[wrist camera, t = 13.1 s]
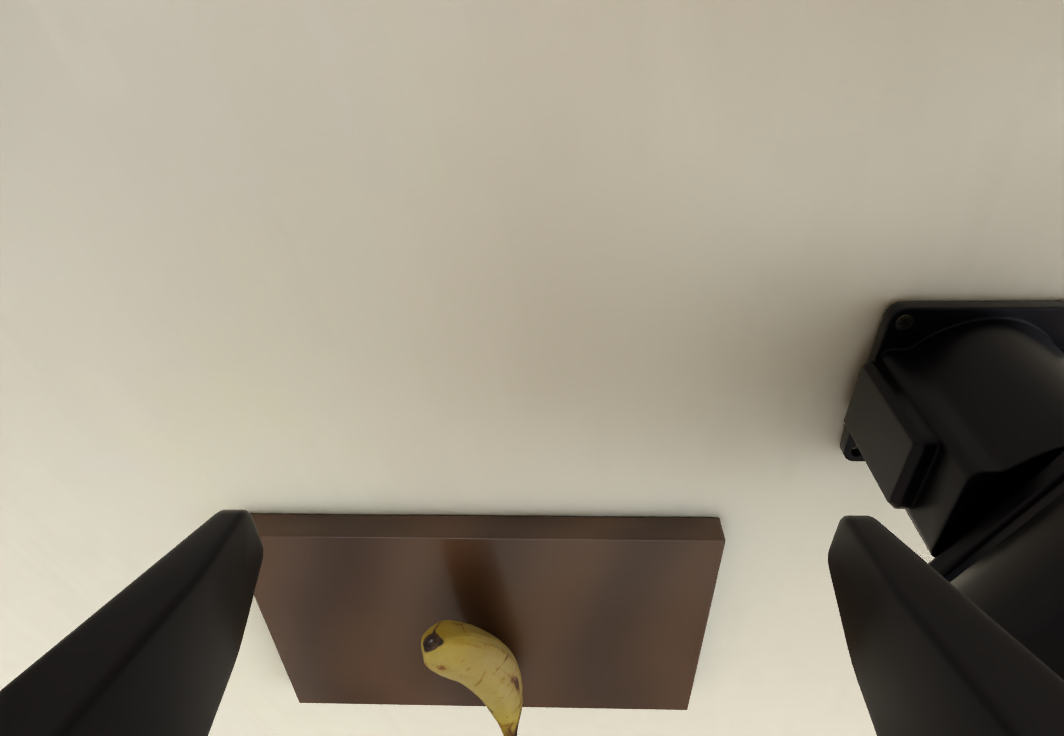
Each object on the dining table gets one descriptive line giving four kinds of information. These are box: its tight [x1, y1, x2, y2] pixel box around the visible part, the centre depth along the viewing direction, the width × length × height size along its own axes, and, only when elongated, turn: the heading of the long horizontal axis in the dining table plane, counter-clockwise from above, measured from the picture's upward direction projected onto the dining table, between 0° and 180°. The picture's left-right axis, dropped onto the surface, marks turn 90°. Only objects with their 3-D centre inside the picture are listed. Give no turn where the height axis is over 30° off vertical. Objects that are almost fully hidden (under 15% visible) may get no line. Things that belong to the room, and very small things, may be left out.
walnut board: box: [251, 514, 725, 710], centre depth 31 cm, size 20×13×1 cm, turn 91°
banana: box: [421, 620, 523, 736], centre depth 29 cm, size 10×2×4 cm, turn 18°
